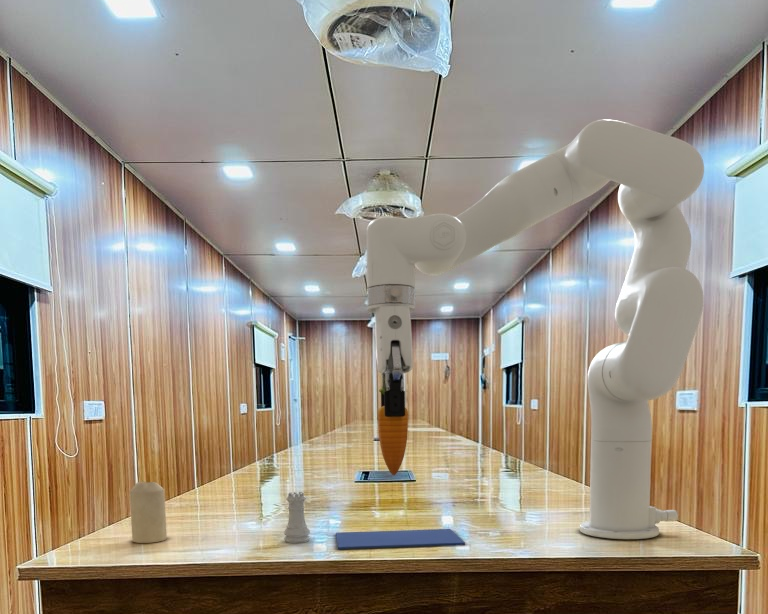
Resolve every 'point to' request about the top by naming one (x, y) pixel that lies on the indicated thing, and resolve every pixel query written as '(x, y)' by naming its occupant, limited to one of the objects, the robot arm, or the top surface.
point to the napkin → (397, 539)
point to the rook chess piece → (296, 520)
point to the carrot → (392, 438)
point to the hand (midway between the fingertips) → (392, 415)
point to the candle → (148, 512)
